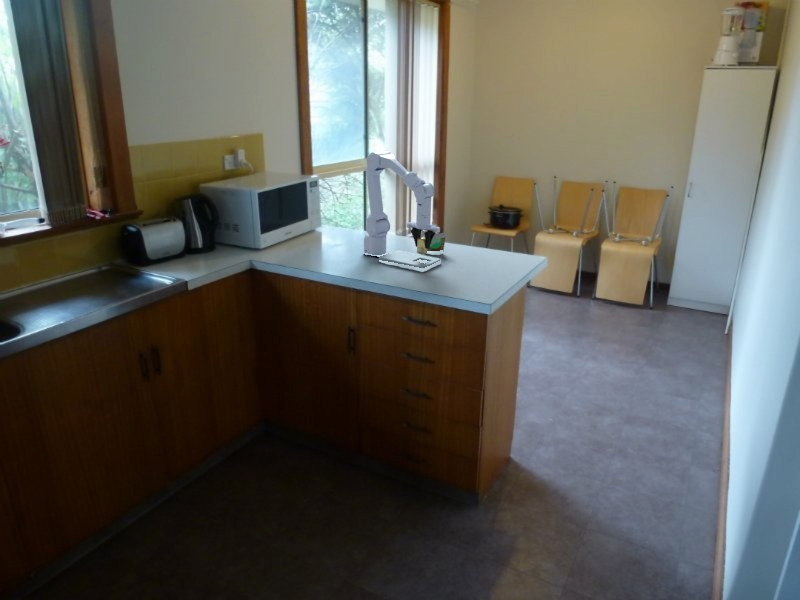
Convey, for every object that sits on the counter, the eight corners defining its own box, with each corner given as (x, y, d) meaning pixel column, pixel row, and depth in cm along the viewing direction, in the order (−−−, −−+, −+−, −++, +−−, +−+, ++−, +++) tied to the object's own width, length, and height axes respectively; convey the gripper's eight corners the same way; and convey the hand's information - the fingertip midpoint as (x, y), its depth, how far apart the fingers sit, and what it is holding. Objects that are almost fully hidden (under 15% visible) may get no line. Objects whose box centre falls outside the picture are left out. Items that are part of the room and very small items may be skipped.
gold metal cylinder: (414, 252, 240) (415, 238, 238) (421, 250, 243) (421, 236, 241) (422, 254, 238) (423, 240, 235) (429, 252, 240) (429, 238, 238)
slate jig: (378, 262, 246) (378, 257, 245) (397, 255, 257) (397, 249, 256) (423, 272, 235) (423, 266, 234) (441, 264, 245) (441, 258, 245)
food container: (414, 253, 260) (415, 231, 257) (420, 250, 266) (421, 228, 262) (440, 257, 255) (441, 235, 252) (446, 254, 260) (447, 232, 257)
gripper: (403, 213, 236) (402, 246, 241) (433, 218, 228) (432, 252, 233) (412, 210, 241) (411, 242, 246) (443, 215, 234) (441, 248, 238)
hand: (422, 247), depth 240 cm, fingers closed on gold metal cylinder, 4 cm apart
